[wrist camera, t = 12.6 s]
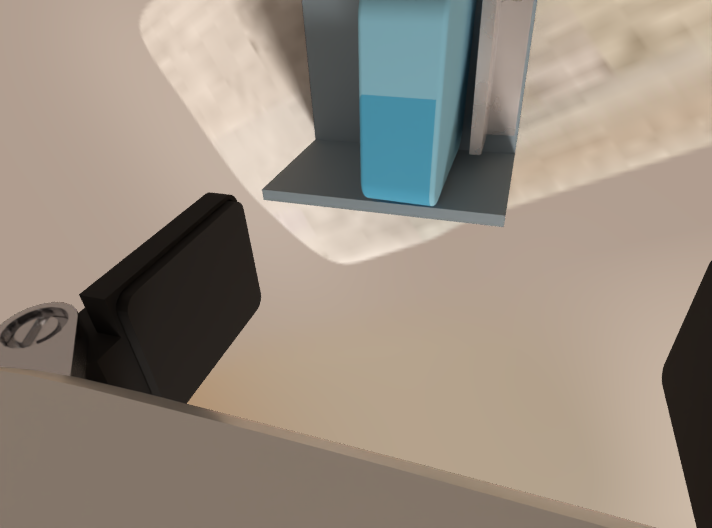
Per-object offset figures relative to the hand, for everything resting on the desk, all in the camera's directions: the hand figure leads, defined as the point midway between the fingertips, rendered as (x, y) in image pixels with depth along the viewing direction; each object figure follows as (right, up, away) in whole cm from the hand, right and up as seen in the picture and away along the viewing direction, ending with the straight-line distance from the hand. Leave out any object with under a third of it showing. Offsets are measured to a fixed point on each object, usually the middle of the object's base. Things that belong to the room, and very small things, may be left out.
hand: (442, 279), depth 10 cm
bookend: (+9, +14, +24) cm, 29 cm away
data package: (+4, +15, +25) cm, 30 cm away
